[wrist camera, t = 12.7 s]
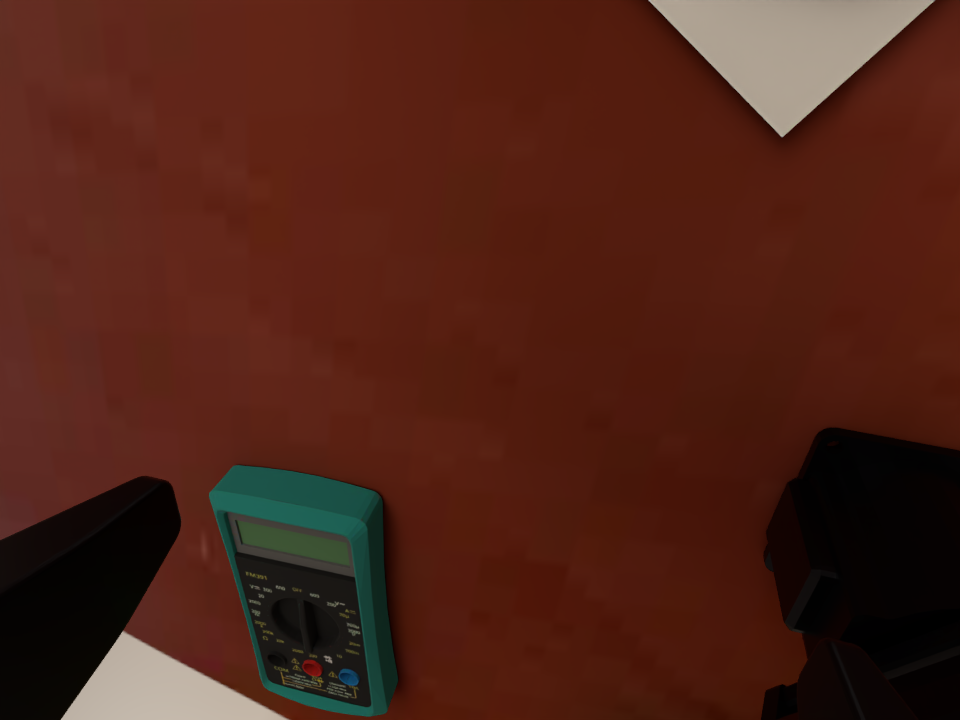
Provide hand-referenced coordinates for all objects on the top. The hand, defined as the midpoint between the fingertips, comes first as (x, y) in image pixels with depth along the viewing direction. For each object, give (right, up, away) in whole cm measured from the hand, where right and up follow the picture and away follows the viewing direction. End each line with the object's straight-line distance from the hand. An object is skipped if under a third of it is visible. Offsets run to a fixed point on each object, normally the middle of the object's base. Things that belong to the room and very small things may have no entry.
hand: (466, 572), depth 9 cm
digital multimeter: (-7, -8, +23) cm, 26 cm away
